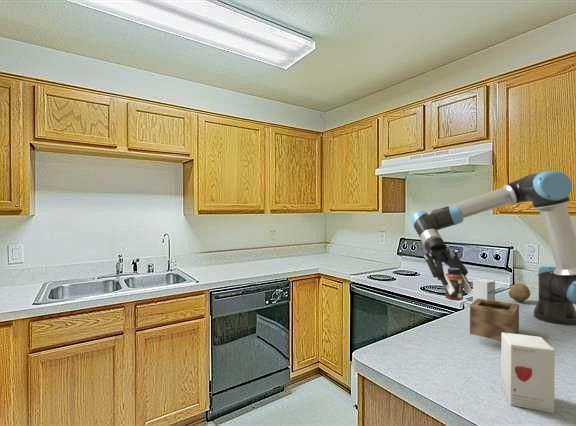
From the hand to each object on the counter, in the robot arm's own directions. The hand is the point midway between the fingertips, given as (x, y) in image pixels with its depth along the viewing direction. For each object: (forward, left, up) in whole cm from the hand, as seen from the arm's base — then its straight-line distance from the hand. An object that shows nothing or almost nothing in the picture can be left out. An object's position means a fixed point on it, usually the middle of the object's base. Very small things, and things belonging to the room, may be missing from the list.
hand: (460, 292), depth 116 cm
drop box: (-7, -19, -18) cm, 27 cm away
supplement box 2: (-21, +28, -18) cm, 40 cm away
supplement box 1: (+4, -60, -18) cm, 62 cm away
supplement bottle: (+3, -2, -4) cm, 5 cm away
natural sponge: (-9, -78, -18) cm, 80 cm away
